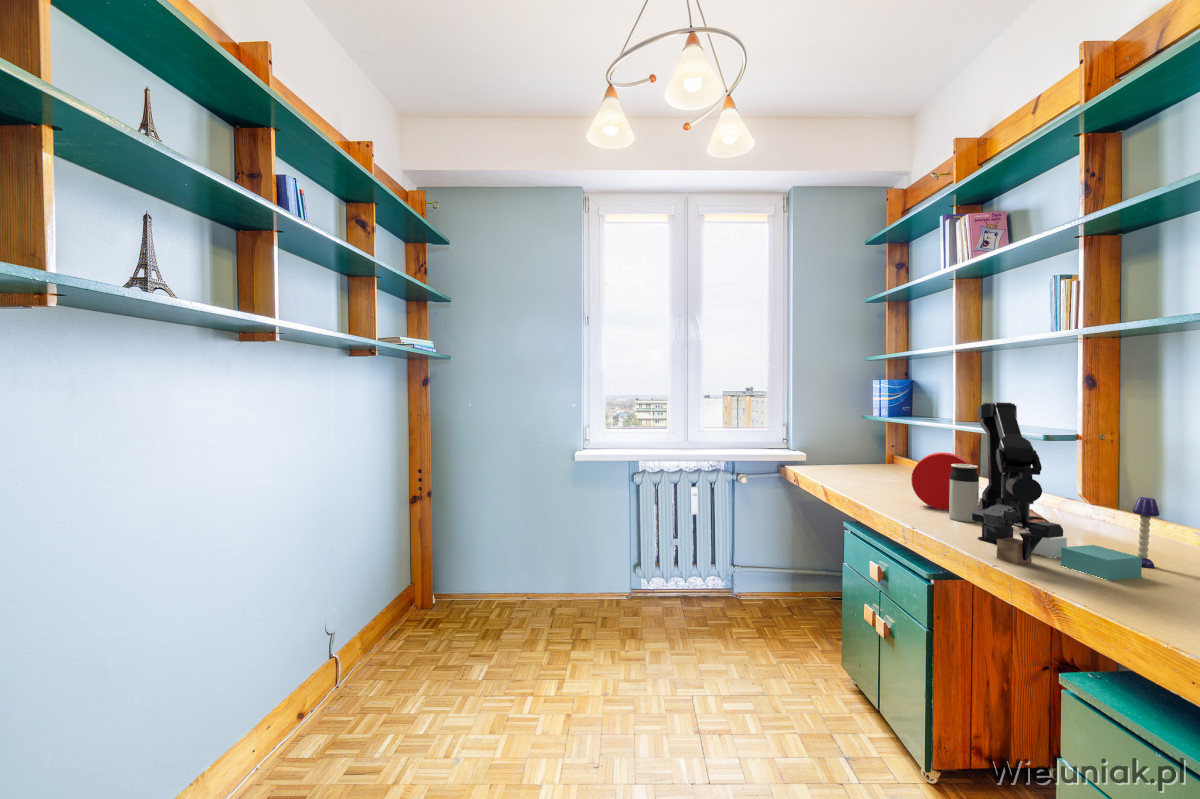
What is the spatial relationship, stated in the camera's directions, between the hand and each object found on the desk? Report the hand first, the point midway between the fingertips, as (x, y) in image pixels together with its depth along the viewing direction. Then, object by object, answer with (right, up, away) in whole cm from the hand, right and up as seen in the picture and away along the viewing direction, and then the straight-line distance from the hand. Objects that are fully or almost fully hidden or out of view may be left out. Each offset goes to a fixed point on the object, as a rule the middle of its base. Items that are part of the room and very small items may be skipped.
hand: (1014, 556), depth 136 cm
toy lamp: (+29, -1, -3) cm, 30 cm away
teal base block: (+14, -2, -8) cm, 16 cm away
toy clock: (+20, 0, +60) cm, 63 cm away
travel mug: (+16, 0, +43) cm, 46 cm away
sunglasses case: (+33, -1, +37) cm, 49 cm away
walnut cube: (0, -1, 0) cm, 1 cm away
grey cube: (+13, -1, +5) cm, 14 cm away
